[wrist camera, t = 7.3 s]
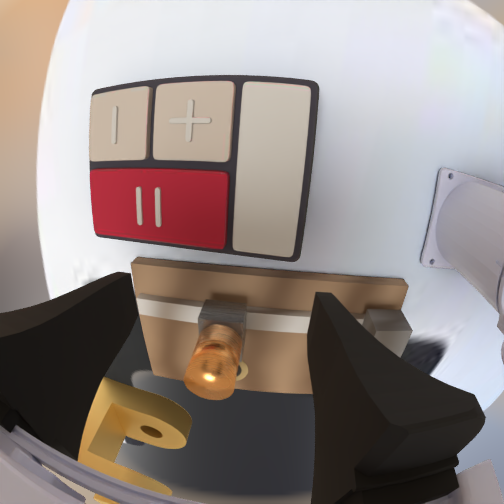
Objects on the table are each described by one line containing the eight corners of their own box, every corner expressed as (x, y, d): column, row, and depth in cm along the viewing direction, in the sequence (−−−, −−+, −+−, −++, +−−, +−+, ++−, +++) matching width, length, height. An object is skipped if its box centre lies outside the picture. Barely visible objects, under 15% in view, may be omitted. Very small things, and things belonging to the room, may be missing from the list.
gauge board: (403, 279, 20) (426, 311, 16) (362, 384, 26) (370, 419, 21) (137, 257, 22) (109, 284, 18) (157, 367, 27) (142, 399, 23)
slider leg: (248, 298, 20) (234, 368, 14) (244, 375, 24) (233, 440, 17) (207, 294, 21) (180, 360, 14) (211, 371, 24) (194, 434, 18)
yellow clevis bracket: (191, 403, 29) (157, 520, 15) (192, 436, 33) (167, 529, 18) (58, 356, 30) (1, 436, 15) (75, 395, 33) (33, 466, 19)
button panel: (84, 89, 14) (321, 78, 12) (118, 93, 18) (315, 91, 16) (88, 240, 18) (299, 269, 16) (118, 222, 22) (298, 243, 20)
